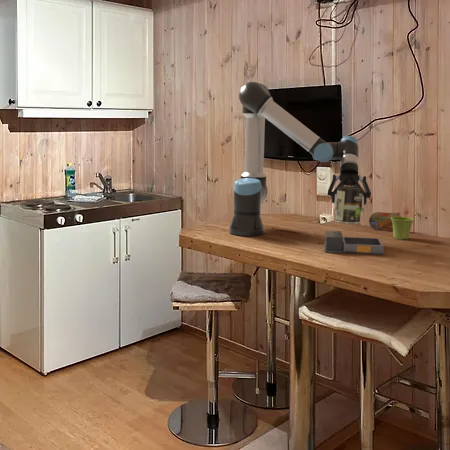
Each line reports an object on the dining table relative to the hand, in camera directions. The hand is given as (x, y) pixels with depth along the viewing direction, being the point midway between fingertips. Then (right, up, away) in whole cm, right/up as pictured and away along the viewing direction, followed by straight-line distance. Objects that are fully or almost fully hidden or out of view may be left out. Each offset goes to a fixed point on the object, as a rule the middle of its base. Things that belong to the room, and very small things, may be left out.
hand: (348, 209), depth 235 cm
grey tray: (-1, -16, -9) cm, 18 cm away
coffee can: (0, -5, +4) cm, 6 cm away
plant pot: (+25, -12, +15) cm, 32 cm away
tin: (+24, -9, +34) cm, 43 cm away
